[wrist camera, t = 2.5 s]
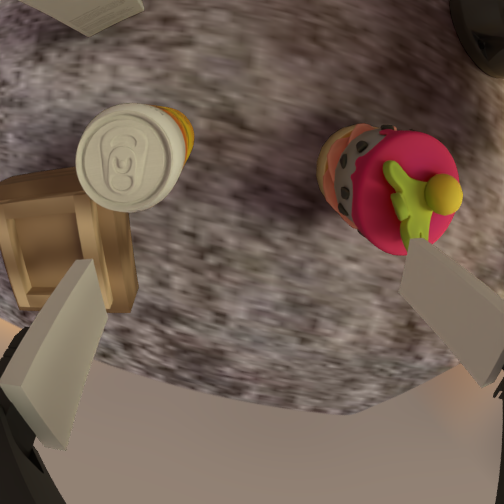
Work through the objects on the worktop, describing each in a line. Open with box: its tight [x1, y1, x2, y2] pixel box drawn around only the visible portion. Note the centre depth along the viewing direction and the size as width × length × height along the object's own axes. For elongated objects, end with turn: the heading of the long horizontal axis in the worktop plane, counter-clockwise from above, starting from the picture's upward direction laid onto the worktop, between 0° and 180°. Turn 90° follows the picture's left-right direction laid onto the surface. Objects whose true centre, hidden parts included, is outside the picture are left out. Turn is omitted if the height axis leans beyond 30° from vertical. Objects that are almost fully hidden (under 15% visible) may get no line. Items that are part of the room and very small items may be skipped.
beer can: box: [76, 103, 194, 212], centre depth 21 cm, size 6×6×15 cm
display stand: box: [0, 167, 139, 313], centre depth 27 cm, size 14×14×6 cm
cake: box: [316, 123, 463, 255], centre depth 25 cm, size 10×11×15 cm
